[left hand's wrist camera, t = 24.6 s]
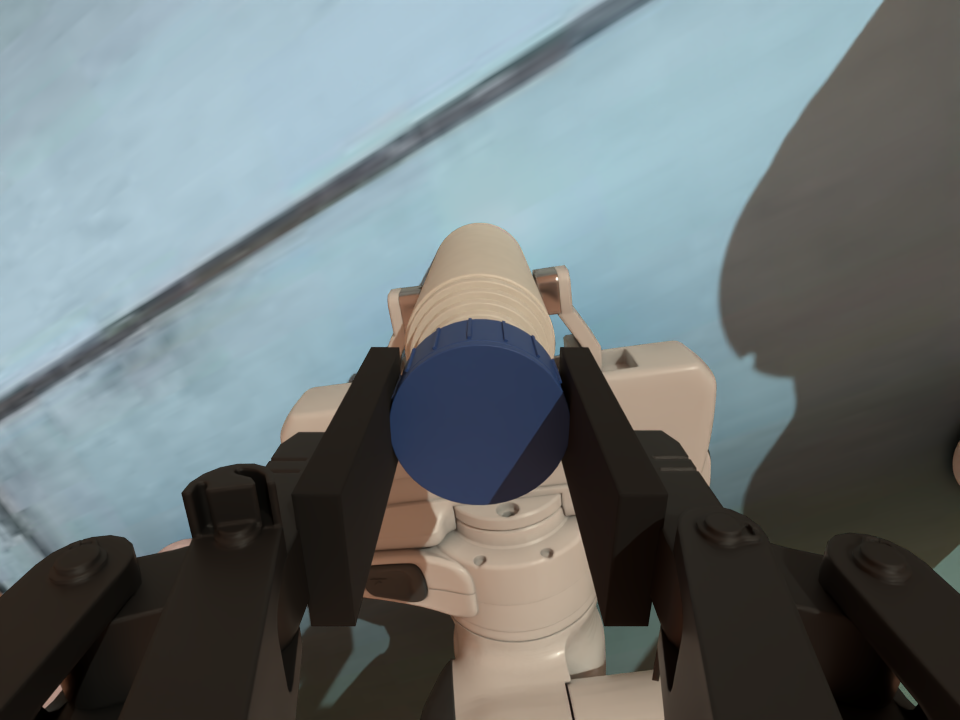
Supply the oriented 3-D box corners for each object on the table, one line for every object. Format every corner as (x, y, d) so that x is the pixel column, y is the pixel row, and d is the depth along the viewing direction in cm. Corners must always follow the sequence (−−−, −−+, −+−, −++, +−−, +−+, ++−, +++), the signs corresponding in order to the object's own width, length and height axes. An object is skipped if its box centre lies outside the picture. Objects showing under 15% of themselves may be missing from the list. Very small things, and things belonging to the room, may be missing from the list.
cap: (365, 386, 15) (348, 420, 13) (490, 282, 14) (491, 304, 12) (471, 490, 16) (470, 535, 14) (592, 403, 15) (608, 439, 13)
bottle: (478, 330, 31) (475, 533, 15) (415, 267, 30) (335, 413, 13) (544, 271, 30) (623, 421, 13) (482, 202, 29) (484, 275, 12)
